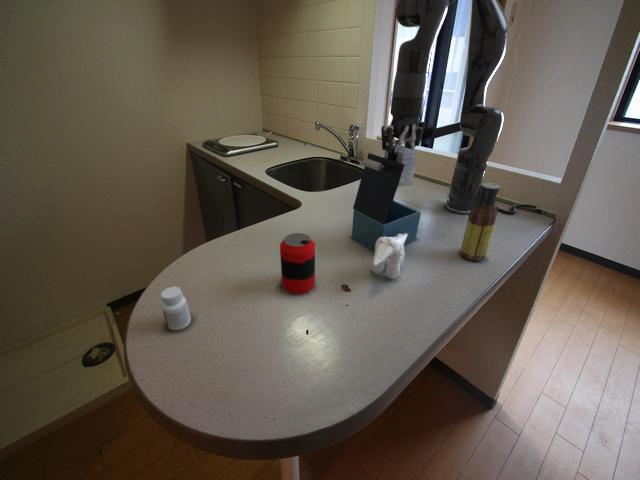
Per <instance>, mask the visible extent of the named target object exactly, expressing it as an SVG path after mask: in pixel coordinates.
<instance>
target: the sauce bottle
mask: <svg viewBox="0 0 640 480" xmlns="http://www.w3.org/2000/svg"><path fill="white" fill-rule="evenodd" d="M500 188H501V187H500V185H499V184H497V183H492V182H482V184H481V187H480V195H479V198H478V201H477V203H476V204H475V205H474V206H473V207H472V208H471V211H470V213H469V214H468V218H467V222H466V226H465V230H464V234H463V238H462V239H463V240H462V243H461V248H460V249H461V250H460V253H461V255H462V256H463V258H465V259H467V260H470V261H474V262H478V261H483V260H485V258H486V255H487V253H488V250H489V247H490V243H491V240H492V237H493V233H494V229H495V226H496V219H497V216H498V210H497V209H496V206H497V205H496V200H497V197H498V193H499V192H500V190H501V189H500Z"/></svg>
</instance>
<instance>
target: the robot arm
mask: <svg viewBox="0 0 640 480" xmlns="http://www.w3.org/2000/svg"><path fill="white" fill-rule="evenodd" d="M455 1H456V0H396V4H395V9H394V10H395V11H394V13H395V19H396V21H397V22H398V24H399V25H401V26H402V27H403V28H418V30H417V32H416V34H415V35H414V37H413V38H411V39H409V40H405V41H404V42H402V43H401V44H400V45H399V49H398V53H397V64H396V69H395V70H396V72H395V77H394V80H393V86H392V96H391V103H390V104H391V105H390V112H389V113H390V115H391V116H392V119H391V121H390V123H389V124H388V125H382V126H381V128H380V134H381V149H382V151H384V152H385V151H388V159H390V160H393V161H396V160H397V151H398V149H399V146H400V145H401V146H402V144H404V145H403V146H404V147H406V148H409V149H411V150H414V151H415V149H416V147H419V146H420V145H421V142H422V138H423V136H424V132H425V128H426V125H427V123H426V122H425V121H422V120H419V118H420V117H422V116H423V114H424V107H425V102H426V96H427V95H426V94H427V90H428V83H429V70H430V64H431V58H432V52H433V49H434V47H435V44H436V41H437V39H438V36H439V34H440V31H441V29H442V26H443V24H444V22H445V19H446V16H447V13H448V10H449V6H450V5H451V4H452V3H454V2H455ZM504 11H505V10H504V9H503V8H502V5H501V4H500V1H499V0H471V11H470V12H471V13H470V24H469V25H470V27H469V36H468V48H467V64H466V65H467V67H466V77H465V84H464V85H465V86H464V94H463V99H462V105H461V110H460V117H459V128H460V131H461V133H462V134H463V135H465V136H466V137H471V138H472V141H471V145H470V146H468V147H463V148H460V149H459V151H458V153H457V157H456V161H455V166H454V170H453V174H452V178H451V182H450V186H449V191H448V193H447V194H446V203H445V208H446V209H447V210H448V211H450V212H452V213H457V214H463V215H465V214H466V215H469V214H470V211H471V208H472V207H473V206H474V205H475V204H476V203H477V201H478V198H479V195H480V187H481V184H483V180H484V176H485V173H486V169H487V166H488V162H489V159H490V157H491V156H492V154H493V152H494V150H495V148H496V145H497V142H498V140H499V136H500V133H501V131H502V128H503V123H504V114H503V111H501V110H500V109H499V108H496V107H491V106H486V105H485V104H486V103H485V101H486V94H487V89H488V85H489V83H490V81H491V80H492V77H493V76H494V74H495V72H496V71H497V70H498V68H499V66H500V65H501V63H502V61H503V59H504V56H505V54H506V48H507V41H508V32H509V23H508V18H507V16H506V14H505V12H504ZM393 145H395V146H394V148H393ZM536 206H537V205H535V204H529V203H522V204H520V203H519V204H513V205H512V206H511V210H507V209H503V208H501V207H500V206H497V205H496V209H497V211H499V212H501V213H504V214H507V215H508V214H509V215H514V214H516V213H517V209H516V208H531V209H534V210H536V211H538V213H541V214H543V213H544V210H543V209H542V208H540V209H535V208H537V207H538V206H537V207H536Z"/></svg>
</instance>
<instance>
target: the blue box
mask: <svg viewBox="0 0 640 480" xmlns="http://www.w3.org/2000/svg"><path fill="white" fill-rule="evenodd" d="M421 214H422V212H421V211H419V210H417V209H414V208H413V207H410V206H408V205H405V204H404V203H401V202H399V201H396V200H394V199H393V202H392V205H391V209H390V212H389V215H388V218H387V221H386V224H385V225H383V224H381V223H379V222H377V221H375V220H373V219H371V218H370V217H368V216H366V215H364V214H362V213H360V212H358V211H356V210H354V209H353V213H352V228H351V239H353V240H355V241H356V242H357V243H360V244H361V245H363V246H364V247H366V248H367V249H369V250H371V251H373V252H374V253H375V244H376V242H377V240H378V238H380V237H395V236H397V235H398V234H404V233H406V234H408V235H407V238H406V240H405V242H404V246H405V245H406V244H409V243H411V242H413V241H416V240H417V235H418V229H419V225H420V220H421Z"/></svg>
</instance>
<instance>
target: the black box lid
mask: <svg viewBox="0 0 640 480" xmlns="http://www.w3.org/2000/svg"><path fill="white" fill-rule="evenodd" d="M404 165H405V164H402V163H399V162H396V161H393V160H390V159H387V158H384V156H380V155H377V154H374V153H371V152H368V153H367V156H366V158H364V159H363V160H362V166H364V167H363V171H362V175H361V178H360V182H359V186H358V188H357V192H356V196H355V199H354V202H353V206H352V209H353V211H354V210H356V211H358V212H360V213H362V214H364V215H366V216H368V217H370V218H371V219H373V220H375V221H377V222H379V223H381V224H383V225H385V224H386V221H387V218H388V215H389V212H390V209H391V205H392V202H393V200H394V199H395V195H396V193H397V189H398V187H399V186H398V184H399V181H400V178H401V175H402V172H403V169H404Z"/></svg>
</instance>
